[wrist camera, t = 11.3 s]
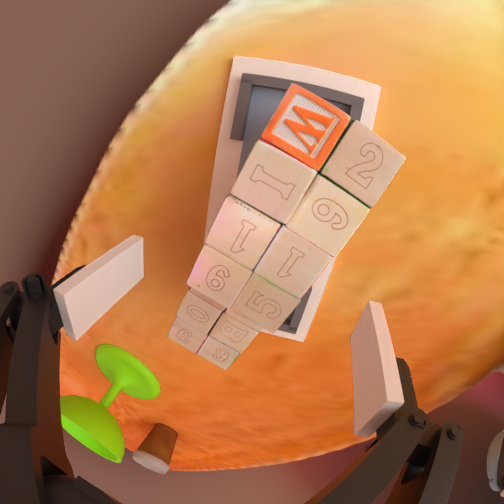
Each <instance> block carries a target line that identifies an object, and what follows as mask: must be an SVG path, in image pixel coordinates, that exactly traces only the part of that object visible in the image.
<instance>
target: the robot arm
mask: <svg viewBox="0 0 504 504" xmlns="http://www.w3.org/2000/svg"><path fill="white" fill-rule="evenodd" d="M143 277H144V266H143V237H139V236H136V235H132V236H130V237H129V238H127V239H126V240H124V241H122V242H121V243H119V244H118V245H116V246H115V247H113V248H112V249H110V250H109V251H107V252H106V253H104V254H103V255H101V256H100V257H98V258H97V259H95V260H94V261H92V262H91V263H89V264H88V265H84V266H81V267H78V268H76V269H74V270H73V271H72V272H70V274H67V275H66V276H65V277H63V278H62V279H60V280H59V281H57V282H56V283H55V284H53V285H52V286H51V287H49V288H48V289H47V286H46V281H45V277H44V276H43V275H42V274H39V273H34V274H30V275H28V276H26V277H25V278H23V280H22V286H23V289H24V292H21V291H20V289H19V285H18V284H17V283H16V282H14V281H11V282H6V283H5V284H3V285H2V286H1V287H0V414H1V410H2V407H3V403H4V400H5V396H6V393H7V399H6V416H5V422H4V424H0V504H122V503H120V502H119V501H117V500H116V499H114V498H112V497H111V496H109V495H108V494H106V493H105V492H103V491H102V490H100V489H98V488H97V487H95V486H94V485H92V484H90V483H89V482H87V481H86V480H84V479H83V478H81V477H80V476H78V477H77V478H75V477H74V474H73V471H72V467H71V464H70V463H69V460H68V458H67V456H66V453H65V447H64V440H63V432H62V421H61V409H60V384H59V365H60V340H61V333H60V329H61V328H62V327H63V326H64V329H65V332H66V335H68V336H69V337H71V338H72V339H74V340H76V341H77V340H78V339H79V338H80V337H81V336H82V335H83V334H84V333H85V332H86V331H87V330H88V329H89V328H90V327H91V326H92V325H93V324H94V323H95V322H96V321H98V320H99V319H100V318H101V317H102V316H103V315H104V314H105V313H106V312H107V311H108V310H109V309H110V308H111V307H112V306H113V305H114V304H115V303H116V302H117V301H118V300H120V299H121V298H122V297H123V296H124V295H125V294H126V293H127V292H128V291H129V290H130V289H131V288H132V287H134V286H135V285H136V284H137V283H138V282H139V281H140V280H141V279H142V278H143ZM7 319H9V322H10V323H9V325H8V326H7V324H6V321H7ZM350 341H351V354H352V370H353V393H354V436H365V437H370V436H371V435H372V434H373V433H374V432H375V431H376V432H377V438H376V439H375V440H374V441H373V442H371V443H370V444H369V445H368V446H367V447H366V448H365V450H364V451H363V453H361V454H360V455H359V457H358V458H356V460H355V461H353V462H352V463H351V464H350V465H349V466H348V467H347V468H346V469H345V470H344V471H343V472H342V473H341V474H340V475H339V476H337V477H336V478H335V479H334V480H333V481H332V482H331V483H329V484H328V485H327V486H326V487H325V488H323V489H322V490H321V491H320V492H319V493H318V494H316V495H315V496H314V497H312V498H311V499H310V500H308V501H307V502H306V503H304V504H371V503H372V502H373V501H374V500H375V499H376V498H377V496H378V495H379V494H380V493H381V492H382V491H383V490H384V488H385V487H386V486H387V485H388V484H389V482H390V481H391V480H392V479H393V477H394V476H395V475H396V474H397V472H398V471H399V470H400V468H401V467H402V466H403V468H402V470H401V472H400V475H399V477H398V479H397V481H396V483H395V485H394V488H393V490H392V492H391V494H390V496H389V498H388V500H387V502H386V503H385V504H447V502H448V498H449V496H450V492H451V489H452V486H453V482H454V479H455V475H456V471H457V467H458V463H459V459H460V454H461V449H462V444H463V438H464V433H463V430H462V428H461V426H460V425H459V424H458V423H456V422H454V421H448V422H446V423H445V424H444V425H443V426H442V427H441V426H439V425H436V424H433V423H430V422H429V421H428V418H427V415H426V414H425V413H424V412H423V411H422V410H421V409H419V408H418V407H417V402H416V397H415V392H414V387H413V384H412V379H411V377H410V376H411V374H410V370H409V367H408V365H407V364H406V362H405V361H404V359H401V358H395V353H394V349H393V345H392V341H391V337H390V333H389V329H388V326H387V322H386V318H385V315H384V311H383V308H382V304H381V303H379V302H375V301H371V300H369V301H368V303H367V305H366V307H365V309H364V311H363V313H362V315H361V317H360V319H359V321H358V323H357V325H356V327H355V329H354V331H353V333H352V335H351V337H350ZM403 464H404V465H403ZM487 473H488V478H489V479H490V482H489V483H490V486H491V488H492V489H493V490H494V491H498V490H499V491H500V493H501V496H503V497H504V430H503V431H502V432H501V433H500V434H498V435H497V436H496V437H495V438H494V439H493V441H492V443H491V445H490V447H489V451H488V458H487Z"/></svg>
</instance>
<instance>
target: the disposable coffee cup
mask: <svg viewBox="0 0 504 504" xmlns="http://www.w3.org/2000/svg"><path fill="white" fill-rule="evenodd" d="M177 436H178V434H177V432H176V431H175V430H173V429H172V428H170V427H168V426H166V425H163V424H156V425H155V426H154V427H153V429H152V430H151V431H150V433H149V434H148V435H147V437H146V438H145V439H144V441H143V442H142V443H141V445H140V446H139V447H138V449H137V450H135V451H134V452H133V459H134V460H135V461H137V462H138V463H139V464H141V465H143V466H144V467H146V468H148V469H150V470H152V471H155V472H158V473H161V474H165V473H166V472H167V471H169V464H170V460H171V457H172V453H173V450H174V446H175V443H176V440H177Z"/></svg>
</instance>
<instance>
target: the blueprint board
mask: <svg viewBox="0 0 504 504" xmlns="http://www.w3.org/2000/svg"><path fill="white" fill-rule="evenodd" d="M292 83H294V84H296V85H299V86H301V87H303V88H304V89H306V90H308V91H310V92H312V93H314V94H315V95H317V96H319V97H321V98H322V99H324V100H326V101H327V102H329V103H331V104H332V105H334V106H335V107H337V108H339V109H340V110H342V111H343V112H345V113H346V114H348V115H349V116H350V117H351V119H352V120H357V121H359V122H360V123H362V124H363V125H365V126H366V127H367V128H369V129H370V130H373V125H374V121H375V116H376V111H377V106H378V101H379V96H380V91H381V86H379V85H376V84H373V83H370V82H367V81H364V80H360V79H357V78H354V77H350V76H347V75H343V74H340V73H336V72H332V71H328V70H324V69H319V68H315V67H310V66H305V65H300V64H295V63H289V62H283V61H277V60H270V59H262V58H253V57H243V56H234V59H233V64H232V68H231V73H230V78H229V83H228V88H227V93H226V98H225V104H224V109H223V115H222V120H221V126H220V132H219V138H218V144H217V150H216V156H215V163H214V169H213V176H212V183H211V190H210V197H209V204H208V212H207V220H206V228H205V237H204V244H205V240H206V237H207V235H208V233H209V231H210V229H211V226H212V224H213V222H214V220H215V218H216V216H217V214H218V212H219V210H220V208H221V205H222V204H223V202H224V200H225V198H226V197H227V195H228V194H230V193H231V190H232V188H233V186H234V184H235V182H236V180H237V178H238V176H239V174H240V172H241V170H242V168H243V166H244V164H245V162H246V160H247V158H248V156H249V154H250V152H251V151H252V149H253V147H254V145H255V143H256V142H257V140H259V139H261V136H262V133H263V131H264V130H265V128H266V126H267V124H268V123H269V121H270V119H271V117H272V116H273V114H274V112H275V111H276V109H277V107H278V106H279V104H280V102H281V100H282V99H283V97H284V95H285V94H286V92H287V90H288V89H289V87H290V85H291V84H292ZM203 246H204V245H203ZM335 259H336V256H335V257H333V258H332V259H331V261H330V262H329V264H328V265H327V267H326V268H325V269H324V270H323V272H322V273H321V274H320V275H319V277H318V278H317V279H316V281H315V282H314V283H313V285H312V286H311V287H310V288H309V290H308V291H307V292H306V293H305V294H304V295H303V297H302V298H301V301H300V303H299V304H298V305H297V306H296V307H295V309H294V310H293V311H292V312H291V314H290V315H289V316H288V317H287V318H286V320H285V321H284V322H283V323H282V324H281V326H280V327H279V328H278V329H277V330H276V331H275V333H272V332H270V331H268V330H266V329H265V328H262V329H261V330H260V331H261V332H265V333H269V334H273V335H276V336H280V337H284V338H288V339H292V340H296V341H300V342H304V339H305V337H306V335H307V332H308V330H309V328H310V325H311V323H312V320H313V318H314V315H315V313H316V310H317V308H318V305H319V303H320V300H321V297H322V295H323V292H324V289H325V287H326V284H327V281H328V279H329V276H330V273H331V270H332V268H333V265H334V262H335Z"/></svg>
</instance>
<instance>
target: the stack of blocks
mask: <svg viewBox="0 0 504 504" xmlns="http://www.w3.org/2000/svg"><path fill="white" fill-rule="evenodd" d="M405 159H406V158H405V156H404V155H402V154H401V153H400V152H399V151H397V150H396V149H395V148H394V147H392V146H391V145H390V144H389V143H387V142H386V141H385V140H383V139H382V138H381V137H380V136H378V135H377V134H376V133H374V132H373V131H372V130H370V129H369V128H367V127H366V126H365V125H363V124H362V123H360V122H359V121H357V120H352V119H351V117H350V116H349V115H348V114H346V113H345V112H343V111H342V110H340V109H339V108H337V107H335V106H334V105H332V104H331V103H329V102H327V101H326V100H324V99H322V98H321V97H319V96H317V95H315V94H314V93H312V92H310V91H308V90H306V89H304V88H303V87H301V86H299V85H296V84H294V83H292V84H291V85H290V87H289V89H288V90H287V92H286V94H285V95H284V97H283V99H282V100H281V102H280V104H279V106H278V107H277V109H276V111H275V112H274V114H273V116H272V117H271V119H270V121H269V123H268V124H267V126H266V128H265V130H264V131H263V133H262V136H261V139H259V140H257V142H256V143H255V145H254V147H253V149H252V151H251V152H250V154H249V156H248V158H247V160H246V162H245V164H244V166H243V168H242V170H241V172H240V174H239V176H238V178H237V180H236V182H235V184H234V186H233V188H232V190H231V193H230V194H228V195H227V197H226V198H225V200H224V202H223V204H222V205H221V208H220V210H219V212H218V214H217V216H216V218H215V220H214V222H213V224H212V226H211V229H210V231H209V233H208V235H207V237H206V240H205V244H204V246H203V247H202V249H201V251H200V253H199V256H198V258H197V260H196V262H195V264H194V267H193V269H192V271H191V273H190V275H189V278H188V280H187V282H186V284H187V285H188V286H190V288H189V289H188V290H187V292H186V294H185V296H184V298H183V300H182V302H181V304H180V306H179V308H178V311H177V313H176V316H177V317H176V318H175V320H174V322H173V325H172V327H171V329H170V331H169V333H168V335H167V337H168V338H170V339H171V340H173V341H175V342H176V343H178V344H179V345H181V346H183V347H184V348H186V349H188V350H189V351H191V352H193V353H194V354H198V355H199V356H201V357H202V358H204V359H206V360H208V361H209V362H211V363H213V364H215V365H217V366H219V367H221V368H222V369H224V370H227V369H228V368H229V367H230V365H231V364H232V363H233V362H234V361H235V360H236V358H237V357H238V356H239V354H240V353H242V352H243V351H244V350H245V348H246V347H247V346H248V345H249V344H250V342H251V341H252V340H253V339H254V337H255V336H256V335H257V334H258V332H259V331H260V330H261V329H262V328H265V329H266V330H268V331H270V332H272V333H275V331H276V330H277V329H278V328H279V327H280V326H281V324H282V323H283V322H284V321H285V320H286V318H287V317H288V316H289V315H290V314H291V312H292V311H293V310H294V309H295V307H296V306H297V305H298V304H299V303H300V301H301V298H302V297H303V295H304V294H305V293H306V292H307V291H308V290H309V288H310V287H311V286H312V285H313V283H314V282H315V281H316V279H317V278H318V277H319V275H320V274H321V273H322V272H323V270H324V269H325V268H326V267H327V265H328V264H329V262H330V261H331V259H332V258H333V257H335V256H337V255H338V254H339V252H340V251H341V250H342V249H343V247H344V246H345V245H346V243H347V242H348V241H349V239H350V238H351V236H352V235H353V234H354V232H355V231H356V230H357V228H358V227H359V226H360V224H361V223H362V221H363V220H364V219H365V217H366V216H367V214H368V213H369V211H370V208H372V207H373V206H375V205H376V203H377V202H378V200H379V199H380V197H381V196H382V195H383V193H384V192H385V190H386V189H387V188H388V186H389V185H390V183H391V182H392V180H393V179H394V177H395V176H396V174H397V173H398V171H399V170H400V168H401V167H402V165H403V164H404V162H405Z"/></svg>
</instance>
